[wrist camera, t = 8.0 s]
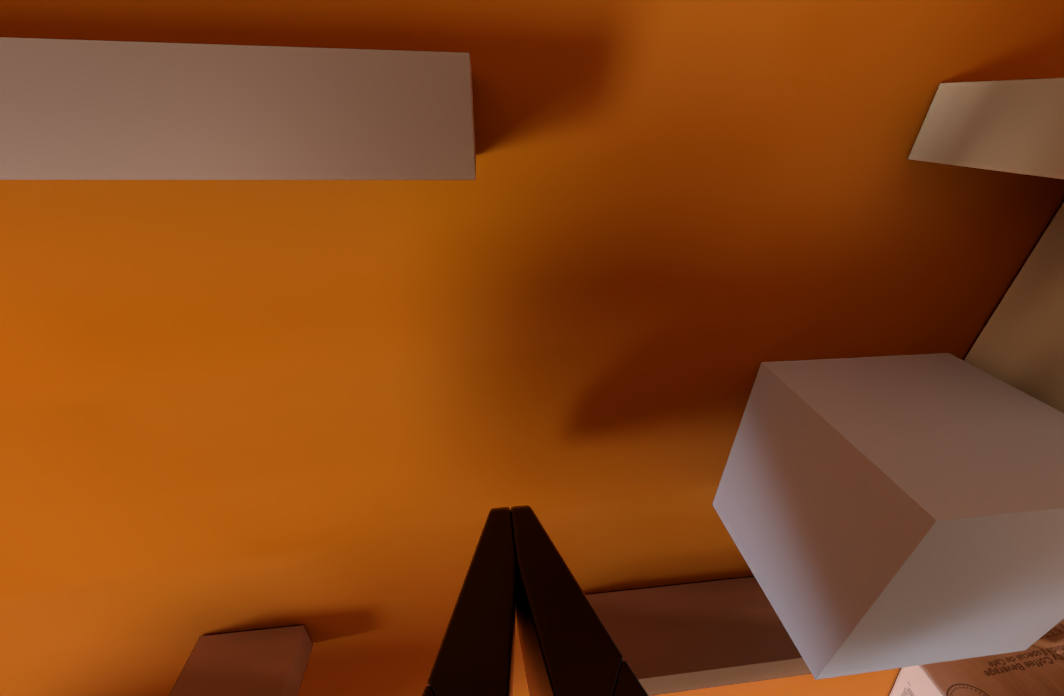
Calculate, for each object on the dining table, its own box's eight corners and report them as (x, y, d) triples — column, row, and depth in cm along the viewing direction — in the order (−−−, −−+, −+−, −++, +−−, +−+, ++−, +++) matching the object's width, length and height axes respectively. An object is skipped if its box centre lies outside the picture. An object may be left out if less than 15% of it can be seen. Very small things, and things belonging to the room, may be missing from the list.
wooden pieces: (849, 584, 16) (908, 660, 14) (214, 655, 13) (163, 761, 11) (1189, 90, 8) (1462, 84, 6) (-233, 49, 5) (-700, 14, 3)
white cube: (862, 488, 13) (1025, 650, 9) (710, 502, 13) (815, 679, 9) (944, 350, 11) (1216, 492, 7) (758, 360, 10) (936, 520, 6)
